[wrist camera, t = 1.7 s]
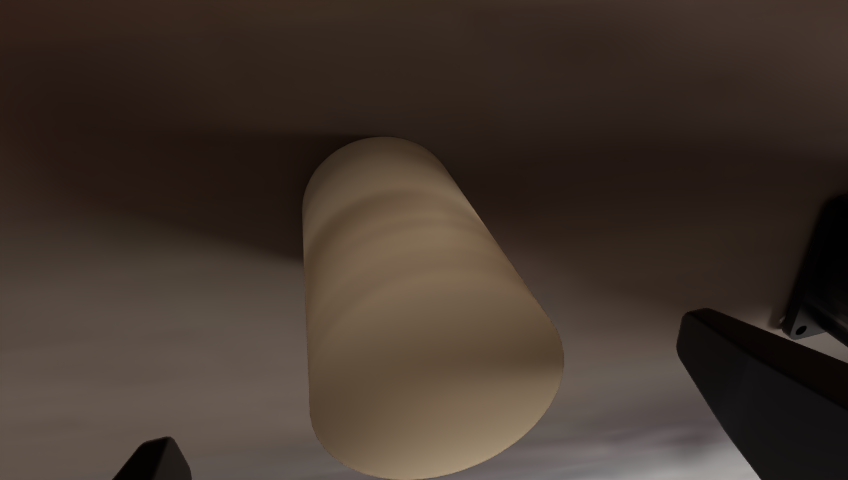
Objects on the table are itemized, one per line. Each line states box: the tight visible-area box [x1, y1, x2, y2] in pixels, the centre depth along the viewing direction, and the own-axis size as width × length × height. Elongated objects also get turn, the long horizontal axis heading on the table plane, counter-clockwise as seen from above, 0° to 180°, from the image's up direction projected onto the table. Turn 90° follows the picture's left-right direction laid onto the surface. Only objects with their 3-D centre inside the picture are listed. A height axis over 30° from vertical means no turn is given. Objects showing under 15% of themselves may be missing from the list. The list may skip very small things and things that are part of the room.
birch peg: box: [302, 137, 564, 480], centre depth 11 cm, size 4×4×7 cm
